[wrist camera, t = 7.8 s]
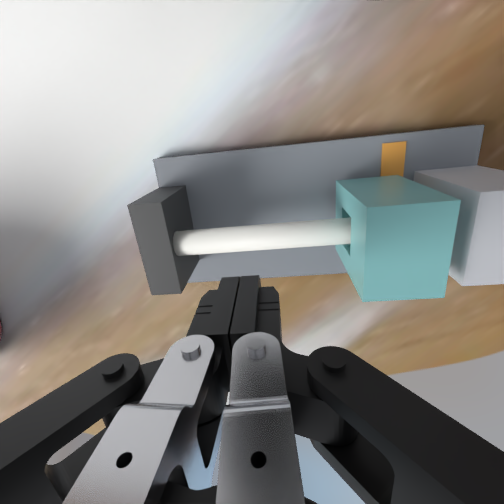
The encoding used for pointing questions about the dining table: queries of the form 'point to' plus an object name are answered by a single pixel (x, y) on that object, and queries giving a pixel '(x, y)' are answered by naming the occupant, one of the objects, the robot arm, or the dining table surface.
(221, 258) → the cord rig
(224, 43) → the dining table surface
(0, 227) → the dining table surface
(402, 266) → the sleeve
